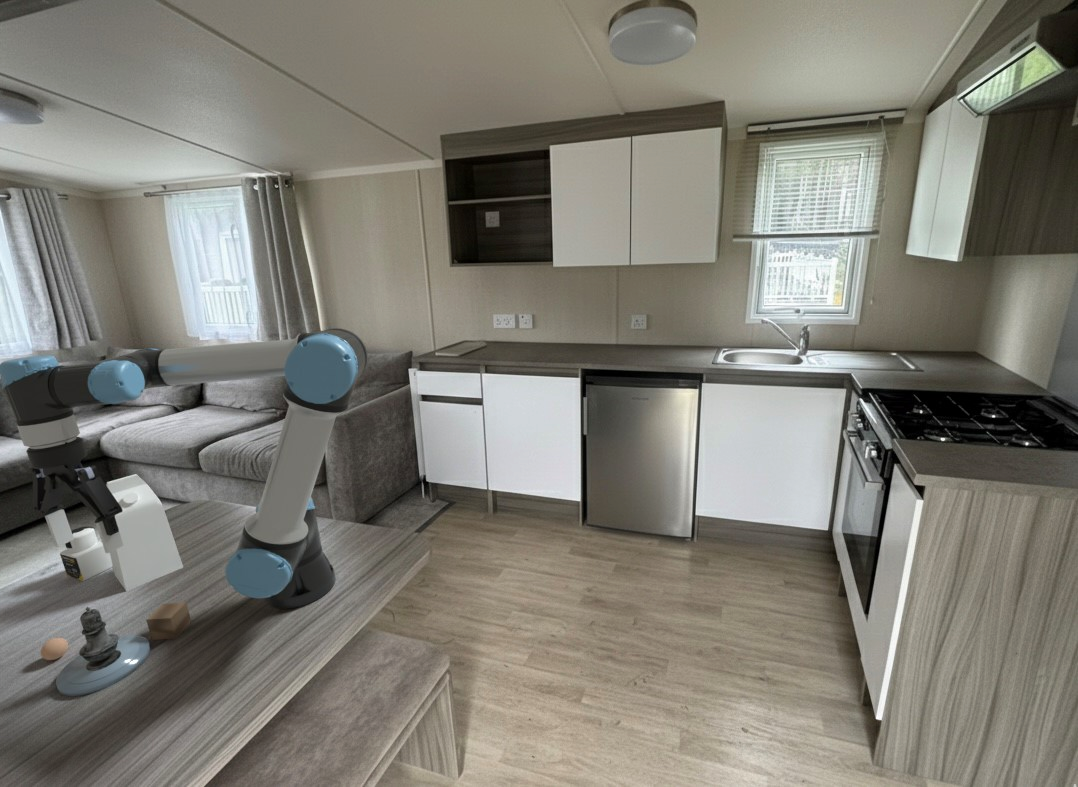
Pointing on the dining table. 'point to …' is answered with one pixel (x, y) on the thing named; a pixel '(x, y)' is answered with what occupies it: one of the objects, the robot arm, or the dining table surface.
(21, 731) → the dining table surface
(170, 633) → the walnut block
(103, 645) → the stone chess piece
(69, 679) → the plate
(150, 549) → the milk
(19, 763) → the dining table surface
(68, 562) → the medicine bottle
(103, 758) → the dining table surface
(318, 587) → the robot arm
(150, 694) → the dining table surface
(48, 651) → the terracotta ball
